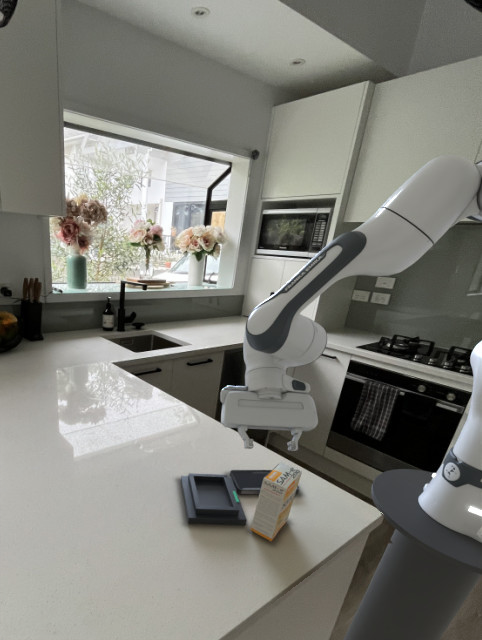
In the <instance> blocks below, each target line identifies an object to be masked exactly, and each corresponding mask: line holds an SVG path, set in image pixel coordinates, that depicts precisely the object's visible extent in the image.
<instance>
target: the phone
mask: <svg viewBox="0 0 482 640" xmlns="http://www.w3.org/2000/svg"><path fill="white" fill-rule="evenodd" d="M272 470H273V469H232V470H230V471H229V474H228V475H229V476H228V477H229V478H231V479H232V481H233V484H234V487H235V489H236V492H237V494H240V495H260V491H261V486H262V482H263V479H264V477H265V476H267V475H268V474H269V473H270V472H271V471H272ZM299 492H300V486H299V485H298V487H297V490H296V493H295V495H297V494H299Z"/></svg>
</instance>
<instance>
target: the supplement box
mask: <svg viewBox="0 0 482 640" xmlns="http://www.w3.org/2000/svg"><path fill="white" fill-rule="evenodd" d="M271 470H272V471H271V472H270V473H269V474H268V475H267V476H265V477H264V479H263V482H262V486H261V491H260V494H258V499H257V502H256V507H255V511H254V515H253V519H252V523H251V527H250V531H251V532H253V533H255V534H256V535H258V536H260V537H262V538H263V539H266V540H267V541H268V542H272V541H273V540H274V539H275V538H276V536H277V535H278V533H279V531H280V530H281V529H282V528H283V526H285V524H286V523H287V521H288V519H289V517H290V513H291V509H292V506H293V502H294V500H295V496H296V494H295V493H296V490H297V487H298V486H299V484H300V480H301V477H302V474H303V471H302V470H301V469H298V468H296V467H294V466H291V465H289V464H286V463H285V462H282V461H280V462H278V464H277V465H276V466H274V468H272V469H271Z"/></svg>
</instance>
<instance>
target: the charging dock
mask: <svg viewBox="0 0 482 640" xmlns="http://www.w3.org/2000/svg"><path fill="white" fill-rule="evenodd" d="M180 485H181V492H182V497H183V502H184V503H183V504H184V509H185V515H186V521H187V524H196V525H197V524H198V525H199V524H201V525H231V526H232V525H233V526H246V525H247V521H248V519H247V516H246V514H245V511H244V509H243V506H242V503H241V501H240V498H239V495H238V492H237V491H236V489H235V487H234V484H233V481H232V479H231V478H230V476H228V475H227V474H219V473H216V474H215V473H192V472H189V473H188V474H187V475H181V476H180Z"/></svg>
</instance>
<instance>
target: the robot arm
mask: <svg viewBox="0 0 482 640" xmlns="http://www.w3.org/2000/svg"><path fill="white" fill-rule="evenodd" d="M464 219H468V220H470V221H474V222H480V223H482V159H481V160H479V161H477V162H475V163H473V161H471V160H470V159H469V158H466V157H464V156H461V155H458V154H442V155H439V156H436V157H434V158H432V159H431V160H429V161H427V163H425V164H424V165H422V167H420V168H419V169H418V170H417V171H416V172H415V173H413V174H412V175H411V176H410V177H408V178H407V180H405V181H404V182H403V183H402V184H401V185H400V186H399V187H398V188H397V189H396V190H395V191H394V192H393V193H392V194H391V195H390V196H389V197H388V198H387V199H386V200H385V201H384V202H383V203H382V205H381V206H380V207H379V208H378V209H377V210H376V211H375V212H374V213H373V214H372V215H371V216H370V217H369V218H368V219H367V220H365V221H364V222H363V223H361V225H359V226H357V227H356V228H354V229H353V230H351V231H346V232H344V233H341V234H340V235H338V236H337V237H335V238H334V239H333V240H331V241H329V243H328V244H327V245H325V246H324V247H323V248H322V249H321V250H320V251H319V252H317V253H316V254H315V255H314V256H313V257H312V258H311V259H310V260H309V261H308V262H307V263H306V264H305V265H303V267H302V268H301V269H299V270H298V272H296V273H295V274H294V275H293V276H292V277H291V278H290V279H289V280H288V281H286V283H284V285H282V286H281V287H280V288H279V289H278V290H277V291H276V292H275V293H274V294H272V295H271V296H269V297H268V298H266V299H265V300H264V301H262V302H260V303H259V304H258V305H256V307H254V308H253V309H252V311H251V312H250V313H249V315H248V316H247V319H246V321H245V329H244V335H243V345H242V347H243V349H242V350H243V361H244V364H245V373H244V385H236V386H235V385H226V386H225V387H223V388H222V389H221V390H220V392H219V400H220V402H221V404H222V405H221V413H220V423H221V425H222V426H223V427H224V428H227V429H229V428H230V429H233V428H234V429H237V433H238V435H239V437H240V438H241V439H242V441H243V448H244V449H245V450H246V449H247V450H251V449H253V448H254V447H255V445H254V439H253V438H250V437H249V435H248V434H247V431H248V429H250V430H251V429H253V430H272V431H290V434H291V436H293V437H292V439H291V440H290V441H287V443H286V444H287V451H291V452H295V451H298V450H299V444H298V442H299V440H300V438H301V436H302V434H303V432H311V431H312V430H314V429H315V428H317V426H318V424H319V417H318V412H317V407H316V403H315V400H314V398H313V397H312V396H311V395H310V394H309V393H310V392H311V385H310V384H309V382H306V381H303V380H300V379H297V378H295V377H292V376H290V375H288V374H287V368H297V367H302V366H307V365H310V364H312V363H314V362H316V361H317V360H319V358H321V356H322V355H323V354H324V352H325V351H326V348H327V344H328V334H327V330H326V328H325V327H323V325H322V324H319V322H316V321H314V320H313V319H311V318H309V317H307V316H305V315H303V314H302V312H303V311H304V310H305V309H306V308H307V307H309V305H310V304H312V303H313V302H314V301H316V300H317V299H318V298H319V297H320V296H321V295H322V294H323V293H324V292H325V291H326V290H328V289H329V288H330V287H331V286H332V285H334V284H335V283H337V282H338V281H340V280H342V279H344V278H349V277H353V276H369V277H388V276H393V275H396V274H399V273H402V272H403V271H405V270H407V269H408V268H409V267H411V266H412V265H414V264H415V263H416V262H417V261H419V259H421V258H422V257H423V256H424V255H425V254H426V253H427V252H428V251H429V250H430V249H431V248H432V247H433V246H434V245H435V244H437V242H438V241H439V240H440V239H441V238H442V237H443V236H444V235H445V234H446V233H447V232H448V231H449V229H450V228H453V227H454V226H455V225H456V224H457V223H459V222H461V221H463V220H464ZM469 358H470V359H469V362H470V366H471V369H472V375H473V380H472V391H471V398H470V399H471V400H470V406H469V410H468V414H467V418H466V419H465V423H464V424H463V427H462V429H461V432H460V434H459V436H458V437H457V440H456V442H455V443H454V446H452V447H450V449H449V450H448V452H447V453H446V454H445V458H444V460H443V462H442V464H441V465H440V467H439V468H438V469H437V471H436V472H432V473H433V475H432V477H433V478H432V480H431V481H430V483H429V484H425V486H424V488H423V490H424V492H423V493H422V494H421V495H420V496H419V498H418V502H419V504H420V506H421V508H422V509H423V510H424V511H425V512H426V513H427V514H428V515H429V516H430V517H432V518H433V519H434V520H436V521H437V522H439V523H440V524H442V525H444V526H446V527H448V528H450V529H452V530H454V531H456V532H459V533H461V534H464V535H467V536H469V537H472V538H474V539H475V540H477V541H479V542H481V543H482V340H481V341H479V342H478V343H477V344H476V345H475V346H474V348H473V350H472V351H471V354H470V357H469Z"/></svg>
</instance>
